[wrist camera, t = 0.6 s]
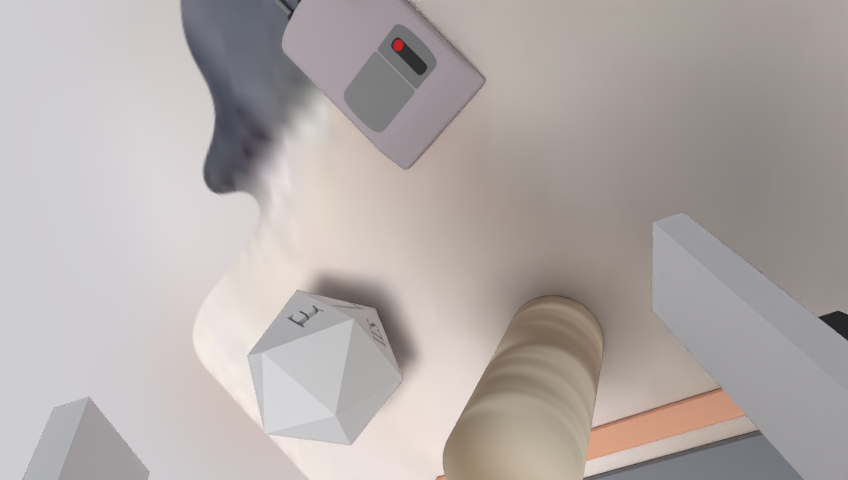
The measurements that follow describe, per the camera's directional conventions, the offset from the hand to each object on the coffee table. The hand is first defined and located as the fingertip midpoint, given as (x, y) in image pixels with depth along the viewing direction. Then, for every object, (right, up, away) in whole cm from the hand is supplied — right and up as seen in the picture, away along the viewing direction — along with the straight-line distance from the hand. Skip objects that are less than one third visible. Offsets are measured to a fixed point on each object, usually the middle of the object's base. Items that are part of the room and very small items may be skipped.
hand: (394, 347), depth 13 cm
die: (-4, -4, +24) cm, 24 cm away
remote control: (-2, +13, +19) cm, 23 cm away
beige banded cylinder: (+8, -3, +19) cm, 21 cm away
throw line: (+10, -10, +20) cm, 24 cm away
